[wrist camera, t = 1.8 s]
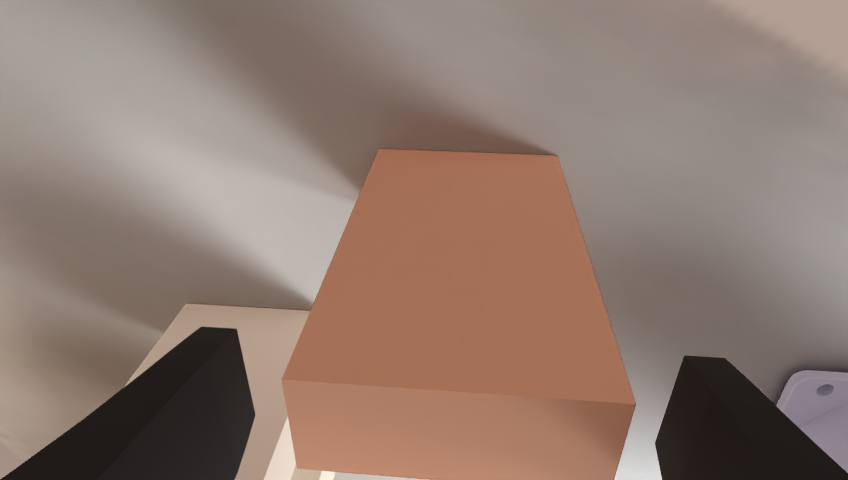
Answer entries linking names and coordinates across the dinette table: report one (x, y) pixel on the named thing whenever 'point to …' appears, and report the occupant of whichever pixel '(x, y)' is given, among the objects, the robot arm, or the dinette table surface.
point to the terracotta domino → (460, 331)
